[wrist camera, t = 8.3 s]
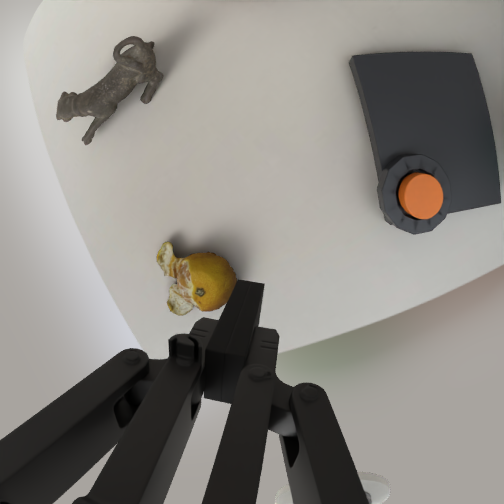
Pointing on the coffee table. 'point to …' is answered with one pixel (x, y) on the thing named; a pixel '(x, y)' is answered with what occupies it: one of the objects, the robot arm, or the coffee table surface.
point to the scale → (428, 130)
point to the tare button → (421, 195)
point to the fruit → (196, 280)
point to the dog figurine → (113, 86)
